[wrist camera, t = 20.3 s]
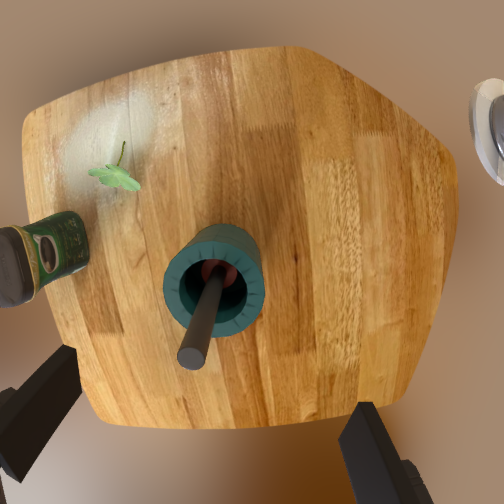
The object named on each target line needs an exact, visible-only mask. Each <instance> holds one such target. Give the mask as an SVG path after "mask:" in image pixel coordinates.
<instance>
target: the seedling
mask: <svg viewBox="0 0 504 504" xmlns="http://www.w3.org/2000/svg"><path fill="white" fill-rule="evenodd" d="M124 144H125V141H124V142H123V146H122V154H121V157H120V159H119V161H118V164H117V166H115V165H111V164H105V166H106V167H107V168H108V169H107V168H103V169H101V168H100V169H98V168H94V169H91V170H89V171H88V174H89V175H91V176H101V177H100V178H99V181H100V182H101V183H102V184H104V185H107V186H109V187H119V185H120V184H121V186H122V187H123V188H124V189H125V190H128V191H131V190H132V191H137V190H140V189H141V187H140V185H139V183H138V182H137V181H135V180H134V179H132V178H131V177H129V176H130V174H129V173H128V172H127V171H126V170H124V169H122V168H120V167H118V166H119V163H120V160H121V158H122V155H123V149H124ZM105 175H106V176H105Z"/></svg>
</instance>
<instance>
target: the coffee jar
mask: <svg viewBox="0 0 504 504" xmlns="http://www.w3.org/2000/svg"><path fill="white" fill-rule="evenodd" d="M88 261H89V247H88V241H87V236H86V232H85V228H84V225H83V222H82V219H81V218H80V216H79V215H78V214H77V213H75V212H73V211H65V212H60V213H57V214H54V215H51V216H49V217H46V218H44V219H42V220H40V221H37V222H35V223H33V224H30V225H27V226H24V227H19V226H16V225H9V226H5V227H1V228H0V307H2V308H7V307H14V306H17V305H20V304H23V303H26V302H29V301H31V300H32V299H33V298H34V297H35V296H36V295H37V293H38V292H39V290H40V289H41V288H42V287H44V286H45V285H47V284H48V283H50V282H52V281H55V280H57V279H59V278H62V277H65V276H67V275H70V274H72V273H75V272H77V271H79V270H81V269H83V268H84V267H85V266H86V265H87V263H88Z"/></svg>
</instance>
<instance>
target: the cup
mask: <svg viewBox="0 0 504 504" xmlns="http://www.w3.org/2000/svg"><path fill="white" fill-rule="evenodd" d="M212 258H214V259H219V260H224V261H226V262H228V263H230V264H231V265H233V266H235V267H236V268H237V269H238V271H237V277H236V280H235V281H234V283H233V284H232V285H231V286H229V287H227V288H224V289H222V293H221V297H220V301H219V305H218V310H217V314H216V318H215V322H214V326H213V330H212V335H211V337H212V338H213V337H214V338H216V337H228V336H231V335H234V334H236V333H239V332H241V331H243V330H244V329H245V328H247V327H248V326H249V325H250V324H252V323H253V322H254V321H255V319H256V318H257V316H258V314H259V313H260V311H261V310H262V307H263V302H264V298H265V287H264V278H263V272H262V265H261V259H260V252H259V250H258V247H257V244H256V243H255V241H254V239H253V238H252V237H251V236H250V235H249V234H248V233H247V232H246V231H245V230H243V229H241V228H240V227H237V226H235V225H231V224H215V225H212V226H209V227H207V228H205V229H203V230H202V231H200V232H199V233H198V234H197V235H196V236H195V237H194V238H193V239H192V240H191V241H190V242H189V243H188V244H187V245H186V246H185V247H184V248H183V249H182V250H181V251H180V252H179V253H178V254H177V255H176V256H175V257H174V258H173V259H172V260H171V262H170V264H169V266H168V268H167V270H166V272H165V275H164V281H163V293H164V298H165V302H166V305H167V307H168V309H169V310H170V312H171V314H172V316H173V317H174V318H175V319H176V320H177V321H178V322H179V323H180V324H181V325H182V326H183V327H185V328H186V329H188V326H189V324H190V321H191V319H192V316H193V314H194V311H195V309H196V307H197V304H198V302H199V299H200V297H201V295H202V292H203V290H204V287H205V285H206V283H205V281H204V280H203V278H202V274H201V268H202V265H203V263H204V261H205V259H212Z"/></svg>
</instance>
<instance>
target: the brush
mask: <svg viewBox="0 0 504 504" xmlns="http://www.w3.org/2000/svg"><path fill="white" fill-rule="evenodd" d="M237 271H238V269H237V268H236V267H235V266H233V265H231V264H230V263H228V262H226V261H224V260H219V259H214V258H212V259H205V261H204V263H203V265H202V268H201V274H202V278H203V280H204V281H205V283H206V285H205V287H204V290H203V292H202V295H201V297H200V299H199V302H198V304H197V307H196V309H195V311H194V314H193V316H192V319H191V321H190V324H189V326H188V329H187V331H186V334H185V336H184V339H183V341H182V343H181V346H180V348H179V351H178V354H177V360H178V362H179V364H180V365H181V366H182V367H184V368H185V369H188V370H198V369H200V368H202V367H203V366H204V364H205V360H206V356H207V352H208V347H209V343H210V339H211V335H212V330H213V326H214V322H215V318H216V314H217V310H218V305H219V301H220V297H221V293H222V289H224V288H227V287H229V286H231V285H232V284H233V283H234V281H235V280H236V277H237Z"/></svg>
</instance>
